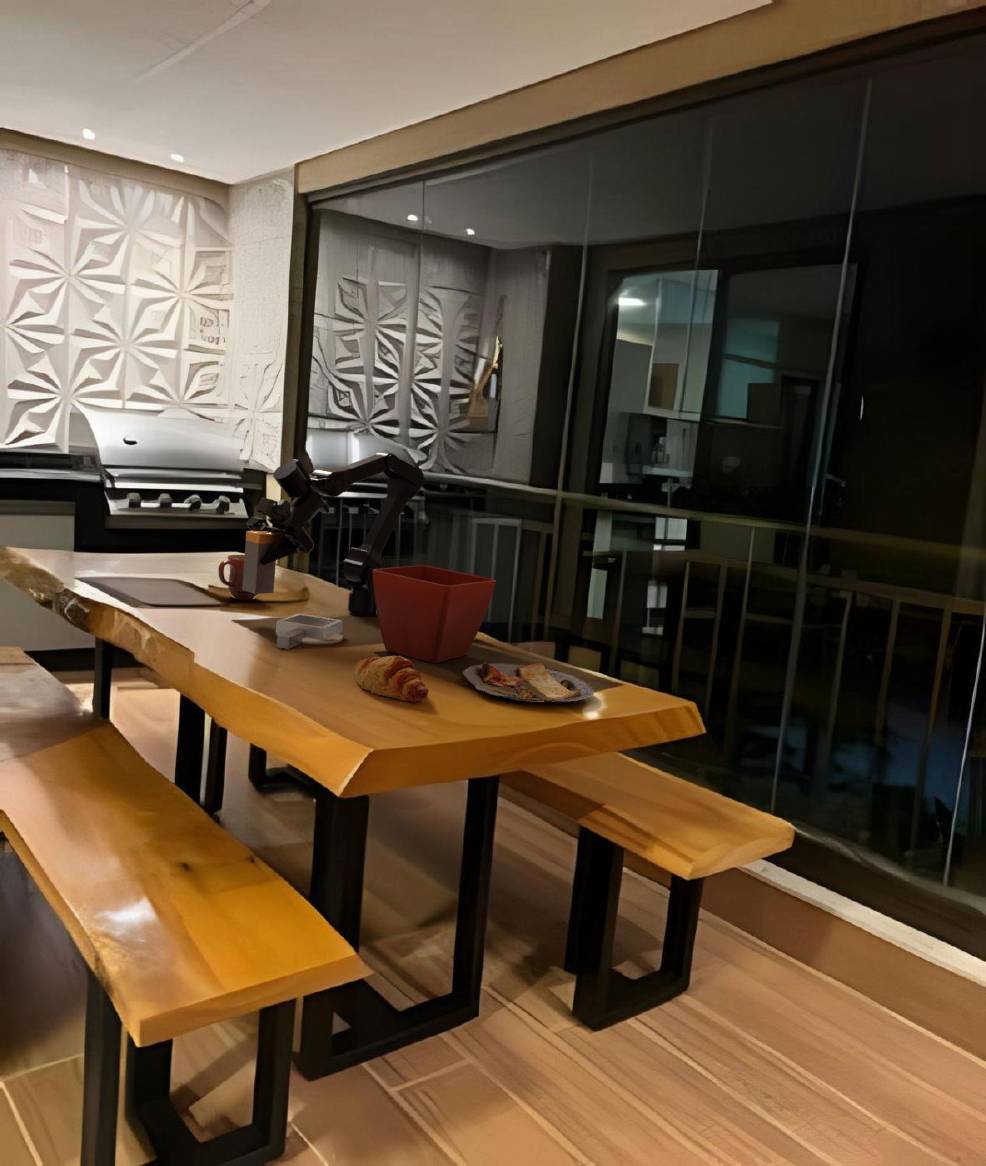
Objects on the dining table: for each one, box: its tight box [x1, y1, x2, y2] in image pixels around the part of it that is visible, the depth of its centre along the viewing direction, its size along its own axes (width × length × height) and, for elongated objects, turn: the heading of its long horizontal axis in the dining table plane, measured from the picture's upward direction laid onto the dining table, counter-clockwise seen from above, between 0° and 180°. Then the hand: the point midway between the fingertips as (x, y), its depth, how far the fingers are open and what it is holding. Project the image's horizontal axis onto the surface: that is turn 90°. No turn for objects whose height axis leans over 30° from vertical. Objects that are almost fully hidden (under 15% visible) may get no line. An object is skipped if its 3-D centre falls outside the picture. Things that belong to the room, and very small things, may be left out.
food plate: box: [462, 661, 595, 703], centre depth 182 cm, size 25×23×4 cm
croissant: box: [353, 655, 430, 703], centre depth 171 cm, size 21×10×8 cm, turn 41°
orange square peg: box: [242, 530, 277, 595], centre depth 213 cm, size 5×5×13 cm
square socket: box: [275, 612, 344, 650], centre depth 202 cm, size 20×14×4 cm
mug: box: [217, 554, 257, 602], centre depth 238 cm, size 12×9×10 cm
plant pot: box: [373, 564, 497, 664], centre depth 202 cm, size 19×19×17 cm
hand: (254, 561), depth 212 cm, fingers closed on orange square peg, 5 cm apart
